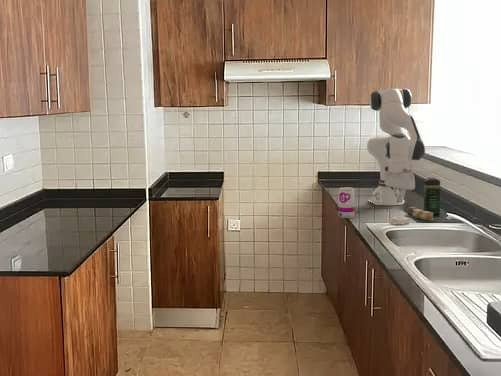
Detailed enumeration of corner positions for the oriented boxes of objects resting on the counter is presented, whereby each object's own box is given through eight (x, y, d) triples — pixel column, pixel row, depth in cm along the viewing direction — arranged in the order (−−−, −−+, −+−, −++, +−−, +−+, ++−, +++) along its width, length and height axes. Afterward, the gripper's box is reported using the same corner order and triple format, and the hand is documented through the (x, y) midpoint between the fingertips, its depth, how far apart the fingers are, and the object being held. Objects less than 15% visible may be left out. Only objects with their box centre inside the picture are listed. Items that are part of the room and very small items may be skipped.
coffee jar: (441, 215, 293) (441, 178, 291) (425, 215, 294) (425, 178, 292) (438, 211, 302) (438, 176, 300) (423, 211, 304) (422, 176, 301)
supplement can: (351, 218, 292) (350, 189, 290) (336, 217, 296) (335, 188, 294) (357, 216, 299) (356, 187, 297) (342, 215, 303) (341, 186, 301)
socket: (390, 222, 277) (390, 217, 277) (401, 221, 280) (401, 216, 279) (397, 224, 272) (397, 219, 271) (409, 223, 274) (409, 218, 273)
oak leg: (406, 214, 296) (406, 207, 295) (413, 213, 297) (413, 206, 297) (426, 219, 279) (426, 212, 279) (434, 218, 281) (434, 211, 280)
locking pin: (395, 202, 275) (395, 187, 274) (400, 201, 276) (400, 187, 275) (398, 202, 273) (398, 188, 272) (403, 202, 273) (403, 187, 273)
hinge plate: (403, 215, 296) (403, 214, 296) (413, 214, 298) (413, 213, 298) (425, 220, 279) (425, 220, 279) (436, 219, 281) (436, 218, 281)
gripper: (418, 169, 264) (418, 199, 265) (393, 166, 283) (393, 194, 284) (406, 170, 262) (406, 200, 263) (381, 167, 281) (382, 195, 282)
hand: (399, 197), depth 274 cm, fingers closed on locking pin, 3 cm apart
